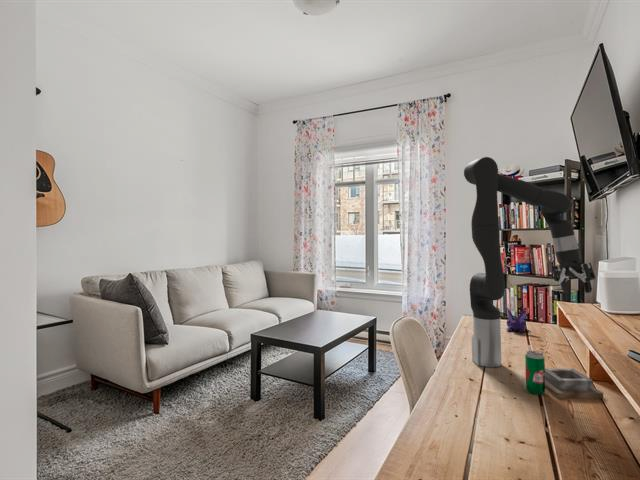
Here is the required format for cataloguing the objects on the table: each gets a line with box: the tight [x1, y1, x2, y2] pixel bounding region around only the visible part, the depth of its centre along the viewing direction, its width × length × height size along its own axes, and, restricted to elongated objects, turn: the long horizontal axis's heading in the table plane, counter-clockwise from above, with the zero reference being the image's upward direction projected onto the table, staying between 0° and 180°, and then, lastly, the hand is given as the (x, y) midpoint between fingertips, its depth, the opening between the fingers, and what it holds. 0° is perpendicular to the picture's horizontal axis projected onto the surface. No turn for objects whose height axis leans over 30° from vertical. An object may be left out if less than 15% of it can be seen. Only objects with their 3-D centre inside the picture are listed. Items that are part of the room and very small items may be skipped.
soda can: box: [524, 350, 546, 396], centre depth 113 cm, size 5×5×12 cm
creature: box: [506, 306, 527, 334], centre depth 181 cm, size 9×18×12 cm, turn 150°
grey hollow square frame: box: [545, 368, 604, 399], centre depth 115 cm, size 13×13×4 cm
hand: (577, 292), depth 136 cm, fingers open, 8 cm apart
